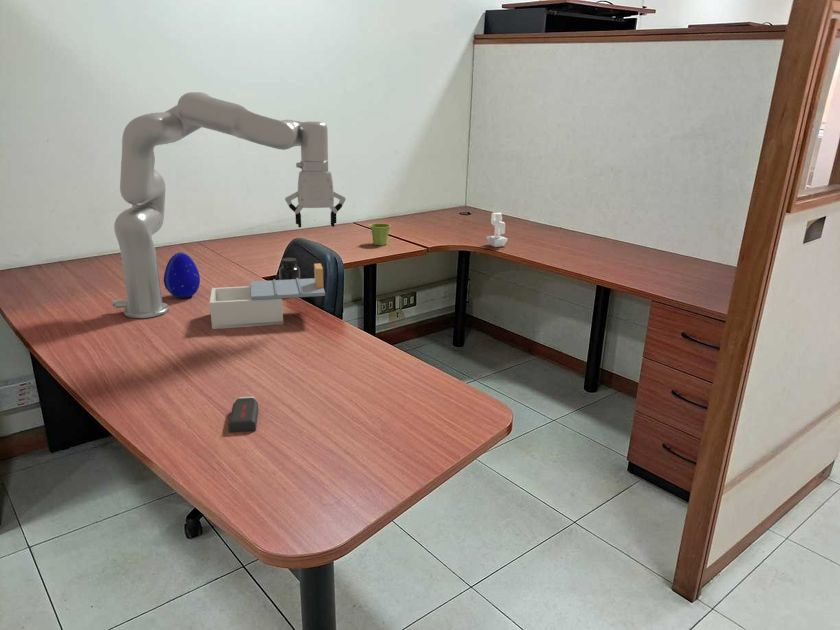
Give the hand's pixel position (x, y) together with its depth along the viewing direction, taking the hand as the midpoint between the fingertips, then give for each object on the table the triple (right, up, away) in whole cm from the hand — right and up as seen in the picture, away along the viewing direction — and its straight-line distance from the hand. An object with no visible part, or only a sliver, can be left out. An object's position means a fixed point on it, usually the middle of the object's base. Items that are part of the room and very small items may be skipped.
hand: (316, 226), depth 182 cm
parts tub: (-21, -27, +4) cm, 35 cm away
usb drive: (-6, -48, -51) cm, 71 cm away
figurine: (+66, +5, +100) cm, 120 cm away
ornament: (-47, -20, +22) cm, 56 cm away
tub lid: (-9, -19, +4) cm, 21 cm away
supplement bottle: (-13, -19, +28) cm, 36 cm away
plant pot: (+13, +6, +97) cm, 98 cm away
